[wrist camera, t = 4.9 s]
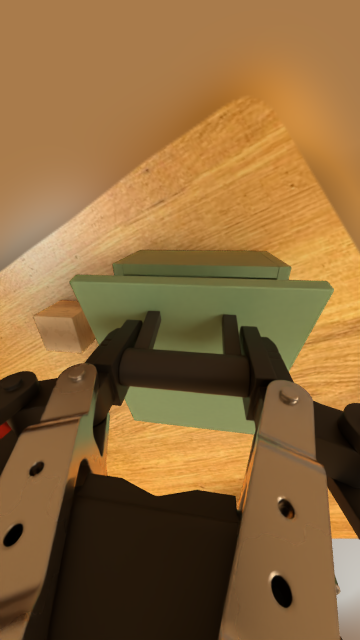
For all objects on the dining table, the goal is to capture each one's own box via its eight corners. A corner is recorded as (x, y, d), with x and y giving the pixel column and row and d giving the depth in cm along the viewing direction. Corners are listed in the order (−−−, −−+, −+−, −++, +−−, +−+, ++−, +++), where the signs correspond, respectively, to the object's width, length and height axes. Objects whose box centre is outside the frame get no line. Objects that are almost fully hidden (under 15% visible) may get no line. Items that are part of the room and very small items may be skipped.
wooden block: (60, 299, 25) (32, 315, 21) (94, 301, 24) (71, 317, 20) (70, 330, 27) (46, 350, 23) (101, 332, 26) (82, 353, 22)
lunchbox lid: (76, 273, 11) (3, 343, 7) (327, 280, 9) (403, 373, 6) (136, 413, 22) (121, 467, 19) (252, 426, 21) (261, 488, 17)
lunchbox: (140, 249, 21) (112, 263, 15) (266, 251, 19) (292, 267, 13) (152, 371, 28) (136, 413, 22) (243, 379, 27) (252, 426, 21)
